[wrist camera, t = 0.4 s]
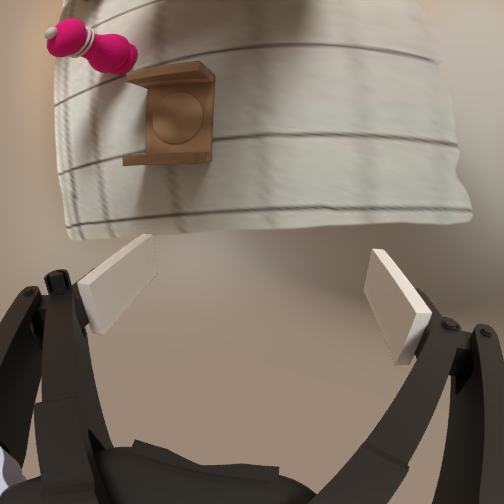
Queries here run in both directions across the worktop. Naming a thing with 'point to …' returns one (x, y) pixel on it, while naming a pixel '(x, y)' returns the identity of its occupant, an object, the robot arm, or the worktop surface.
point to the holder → (176, 114)
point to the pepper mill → (91, 46)
